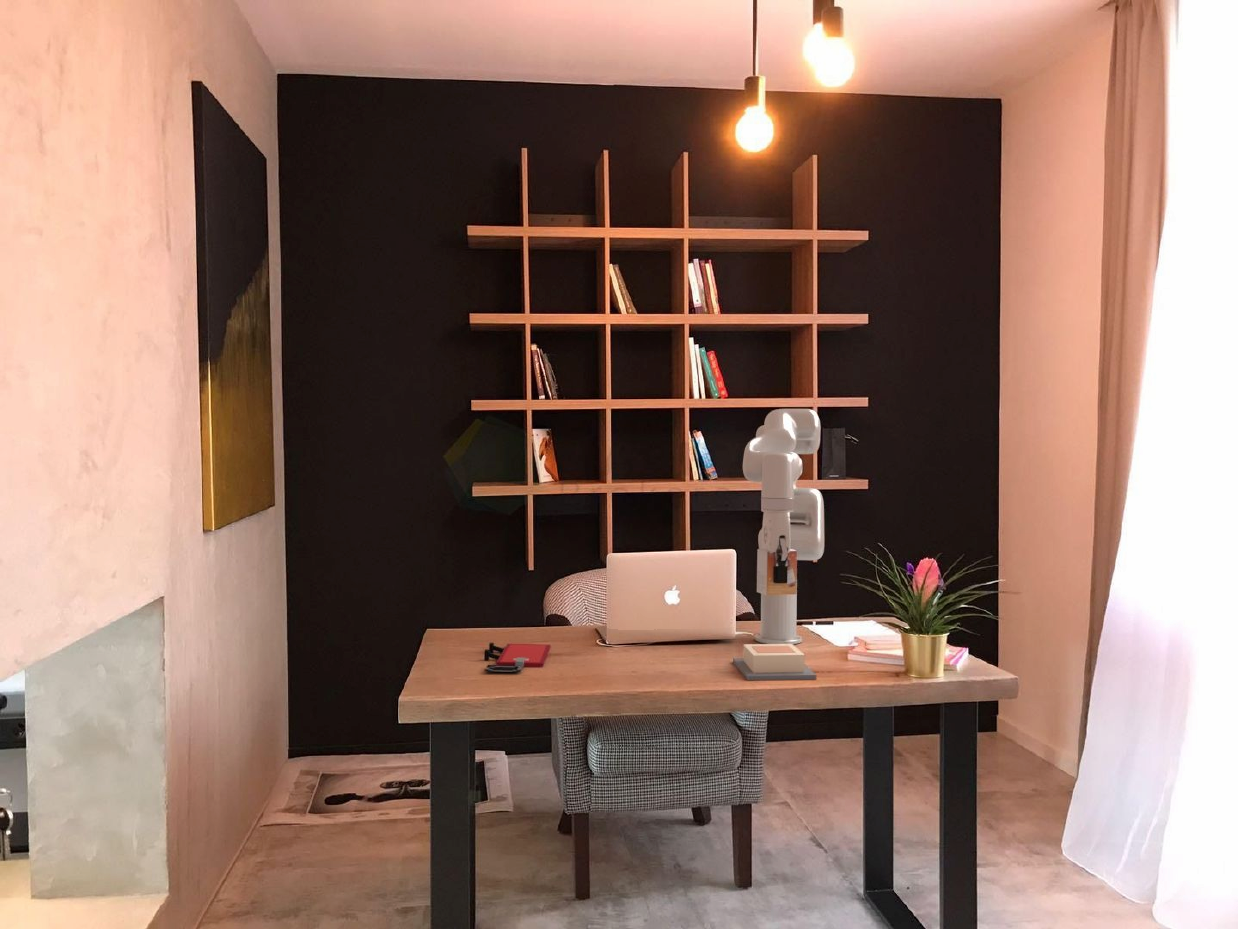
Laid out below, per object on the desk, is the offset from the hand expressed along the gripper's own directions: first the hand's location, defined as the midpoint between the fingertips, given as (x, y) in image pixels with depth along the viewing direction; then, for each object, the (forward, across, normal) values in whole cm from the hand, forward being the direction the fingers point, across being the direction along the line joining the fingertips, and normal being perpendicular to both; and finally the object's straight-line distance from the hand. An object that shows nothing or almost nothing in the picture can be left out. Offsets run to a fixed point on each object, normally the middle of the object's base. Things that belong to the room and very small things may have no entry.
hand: (776, 580), depth 239 cm
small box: (+3, 0, 0) cm, 3 cm away
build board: (+22, 0, -1) cm, 22 cm away
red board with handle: (+22, -16, -62) cm, 68 cm away
